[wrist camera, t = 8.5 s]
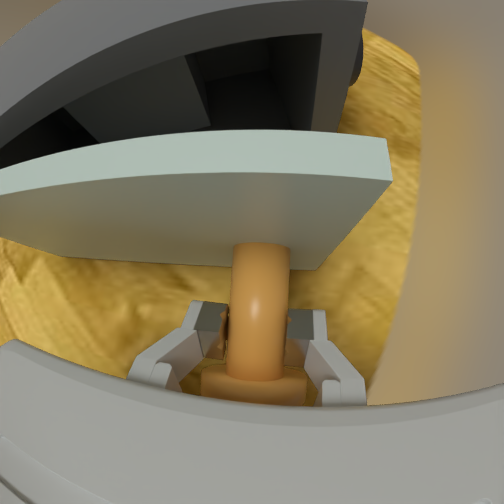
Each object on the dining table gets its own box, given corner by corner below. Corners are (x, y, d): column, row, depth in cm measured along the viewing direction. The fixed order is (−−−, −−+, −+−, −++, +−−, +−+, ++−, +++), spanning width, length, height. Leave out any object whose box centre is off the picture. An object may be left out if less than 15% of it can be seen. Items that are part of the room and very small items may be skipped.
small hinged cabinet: (61, 242, 20) (-68, 188, 7) (71, 133, 23) (-10, 55, 9) (349, 173, 19) (415, 9, 6) (303, 65, 22) (306, -66, 8)
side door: (55, 331, 18) (-77, 327, 6) (62, 244, 20) (-62, 194, 7) (309, 369, 16) (369, 490, 4) (315, 254, 18) (386, 138, 5)
